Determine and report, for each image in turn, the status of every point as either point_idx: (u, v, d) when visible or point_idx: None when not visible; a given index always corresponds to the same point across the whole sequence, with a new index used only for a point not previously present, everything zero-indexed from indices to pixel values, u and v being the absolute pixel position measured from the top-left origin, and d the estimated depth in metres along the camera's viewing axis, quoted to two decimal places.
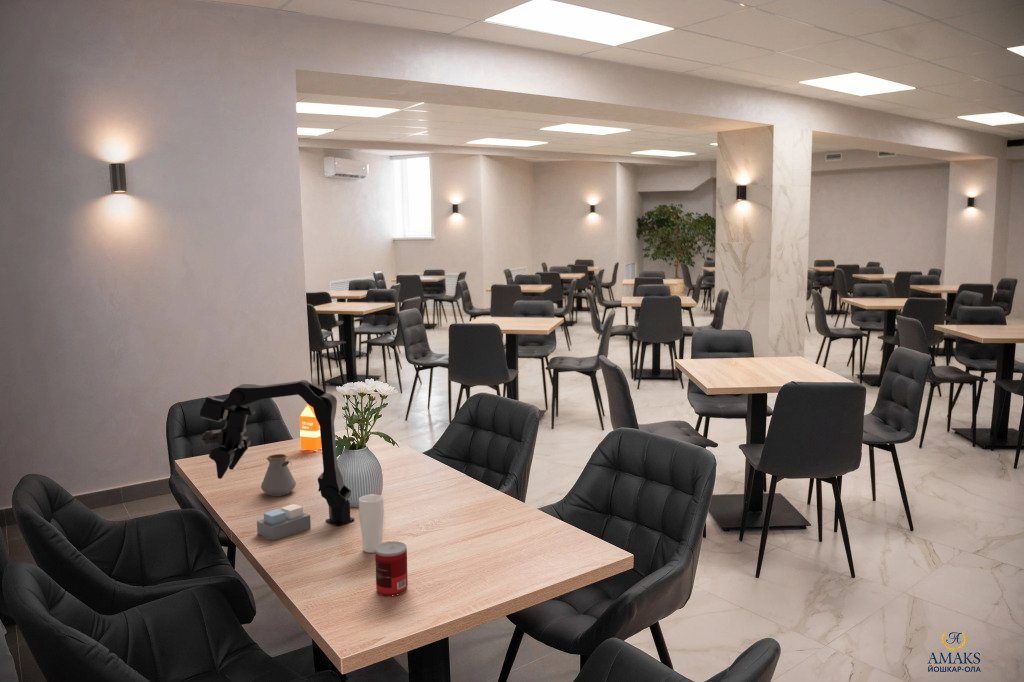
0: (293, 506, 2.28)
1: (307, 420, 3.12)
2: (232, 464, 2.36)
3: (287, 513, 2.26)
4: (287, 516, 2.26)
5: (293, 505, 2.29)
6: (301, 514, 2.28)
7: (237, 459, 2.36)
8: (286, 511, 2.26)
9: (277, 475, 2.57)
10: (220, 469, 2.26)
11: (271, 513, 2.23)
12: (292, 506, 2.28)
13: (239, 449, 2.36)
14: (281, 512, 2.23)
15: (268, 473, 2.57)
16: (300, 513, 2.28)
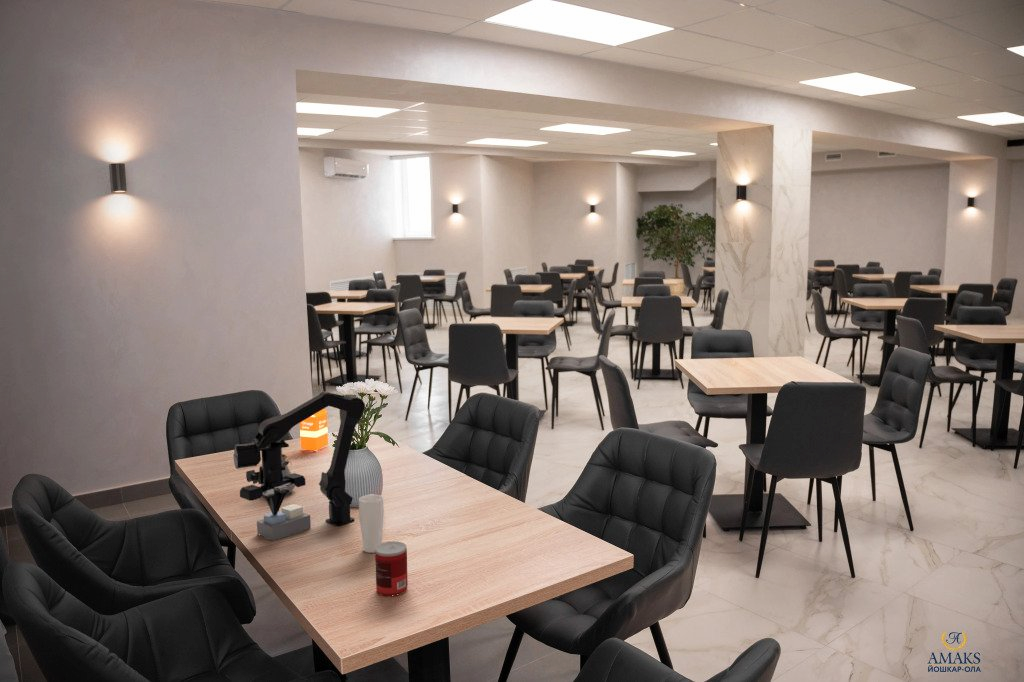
0: (293, 506, 2.28)
1: (307, 420, 3.12)
2: None
3: (287, 513, 2.26)
4: (287, 516, 2.26)
5: (293, 505, 2.29)
6: (301, 514, 2.28)
7: (277, 503, 2.22)
8: (286, 511, 2.26)
9: None
10: (270, 505, 2.22)
11: (271, 515, 2.23)
12: (292, 506, 2.28)
13: (278, 492, 2.22)
14: (281, 514, 2.23)
15: None
16: (300, 513, 2.28)
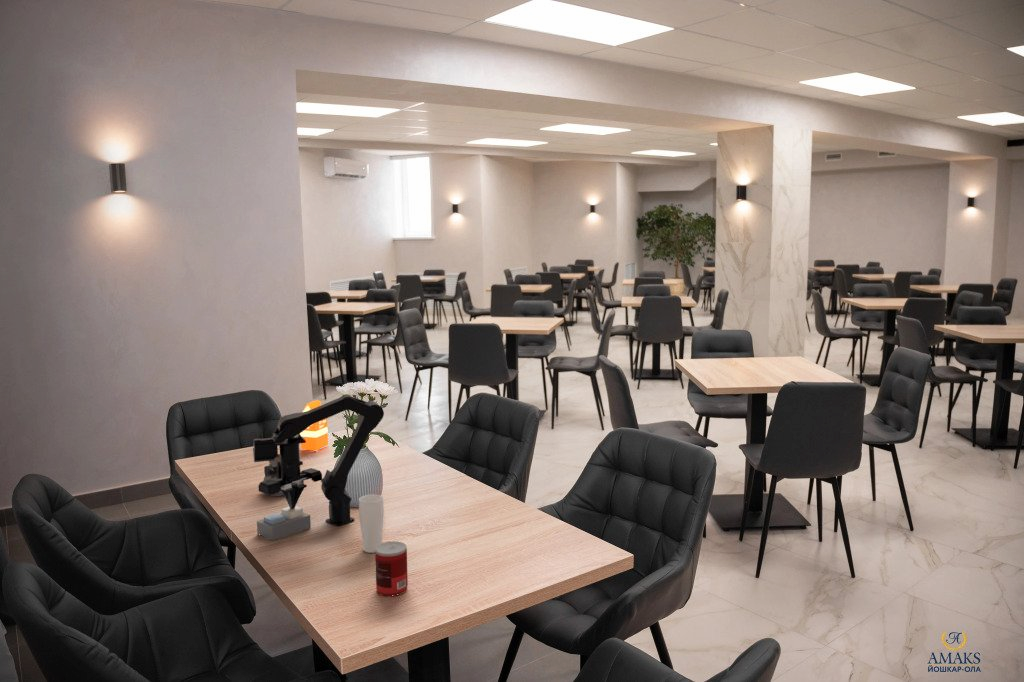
0: None
1: None
2: None
3: (287, 514, 2.26)
4: (287, 517, 2.26)
5: None
6: (301, 515, 2.28)
7: (295, 497, 2.27)
8: (286, 512, 2.26)
9: None
10: (288, 499, 2.26)
11: (271, 517, 2.23)
12: None
13: (295, 487, 2.27)
14: (281, 516, 2.24)
15: None
16: (300, 514, 2.28)
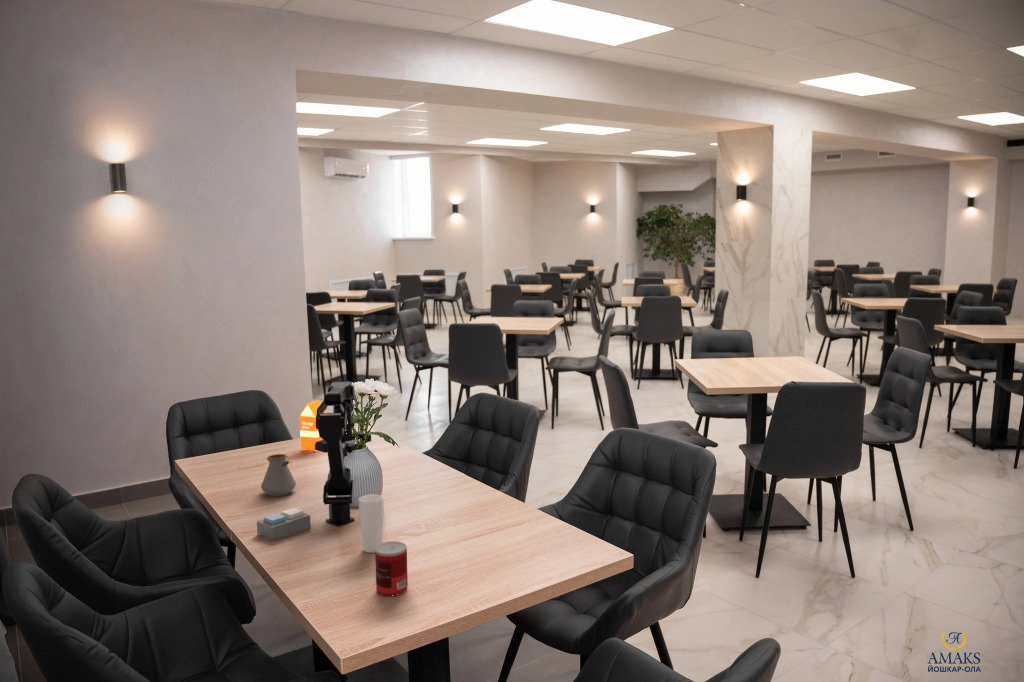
0: (293, 510, 2.28)
1: (307, 420, 3.12)
2: None
3: (287, 517, 2.26)
4: None
5: (293, 509, 2.29)
6: None
7: None
8: (286, 515, 2.26)
9: (277, 475, 2.57)
10: None
11: (271, 517, 2.23)
12: (292, 510, 2.29)
13: (348, 447, 2.45)
14: (281, 516, 2.24)
15: (268, 473, 2.57)
16: None
